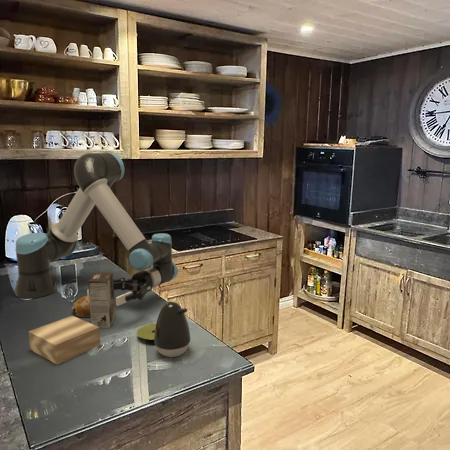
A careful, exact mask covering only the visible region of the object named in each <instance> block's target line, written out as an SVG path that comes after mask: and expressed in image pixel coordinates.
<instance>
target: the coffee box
mask: <svg viewBox="0 0 450 450" xmlns="http://www.w3.org/2000/svg"><path fill="white" fill-rule="evenodd" d="M113 280H114V274H113V272H93V274H92V276H91V277H90V278H89V280H88V281H87V282H88V289H89V297H90V312H91V317H90V323H91V324H93V325H95V326H98V327H99V329H100V328H101V329H102V328H105V329H106V328H108V329H109V328H111V327H112V325H113V323H114V320H115V318H116V302H115V290H114V287H113Z"/></svg>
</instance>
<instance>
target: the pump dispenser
mask: <svg viewBox="0 0 450 450" xmlns="http://www.w3.org/2000/svg"><path fill="white" fill-rule="evenodd" d="M187 312H188V308H185V307H184V308H182V307H181V305H180V304H179V303H177V302H176V301H168V302H166V303H164V305H163V306H162V308H161V309H160V311H159V314H158V316H157V320H156V323H155V324H156V328H155V335H154V340H153V341H154V345H155V346H156V349H157V351H158V352H159V354H160V355H162V356H164V357H168V358H176V357H179V356H181V355H183V354H184V353H185V352H186V351H187V349H188V348H189V345H190V343H191V332H190V327H189V323H188V319H187V317H186V316H187V315H186V313H187Z"/></svg>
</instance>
